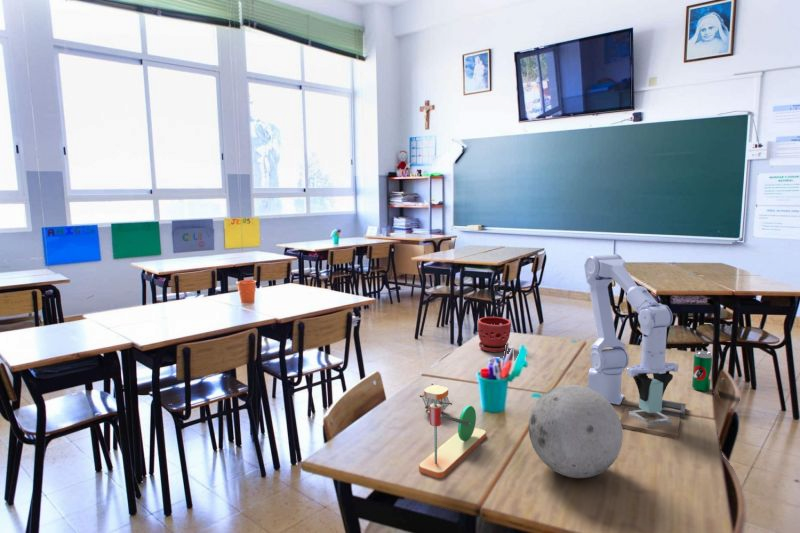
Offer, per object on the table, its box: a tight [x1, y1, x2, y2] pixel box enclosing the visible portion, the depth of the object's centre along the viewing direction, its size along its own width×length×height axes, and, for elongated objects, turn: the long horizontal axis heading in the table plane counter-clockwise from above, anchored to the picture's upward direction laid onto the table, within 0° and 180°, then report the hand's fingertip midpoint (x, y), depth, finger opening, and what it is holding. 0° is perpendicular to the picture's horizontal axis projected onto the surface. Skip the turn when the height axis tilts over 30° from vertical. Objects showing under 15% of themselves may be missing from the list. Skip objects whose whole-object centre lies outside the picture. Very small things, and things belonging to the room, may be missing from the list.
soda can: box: [691, 350, 713, 392], centre depth 165 cm, size 5×5×12 cm
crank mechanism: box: [418, 384, 487, 479], centre depth 128 cm, size 25×7×19 cm, turn 146°
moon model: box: [528, 384, 624, 479], centre depth 118 cm, size 20×20×20 cm
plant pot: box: [477, 316, 512, 353], centre depth 211 cm, size 13×13×12 cm
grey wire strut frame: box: [419, 383, 453, 413], centre depth 151 cm, size 9×8×10 cm
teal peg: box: [638, 377, 664, 413], centre depth 142 cm, size 4×4×8 cm
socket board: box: [619, 407, 681, 440], centre depth 142 cm, size 14×12×2 cm
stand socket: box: [660, 399, 686, 419], centre depth 150 cm, size 8×8×2 cm
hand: (650, 399), depth 142 cm, fingers closed on teal peg, 4 cm apart
